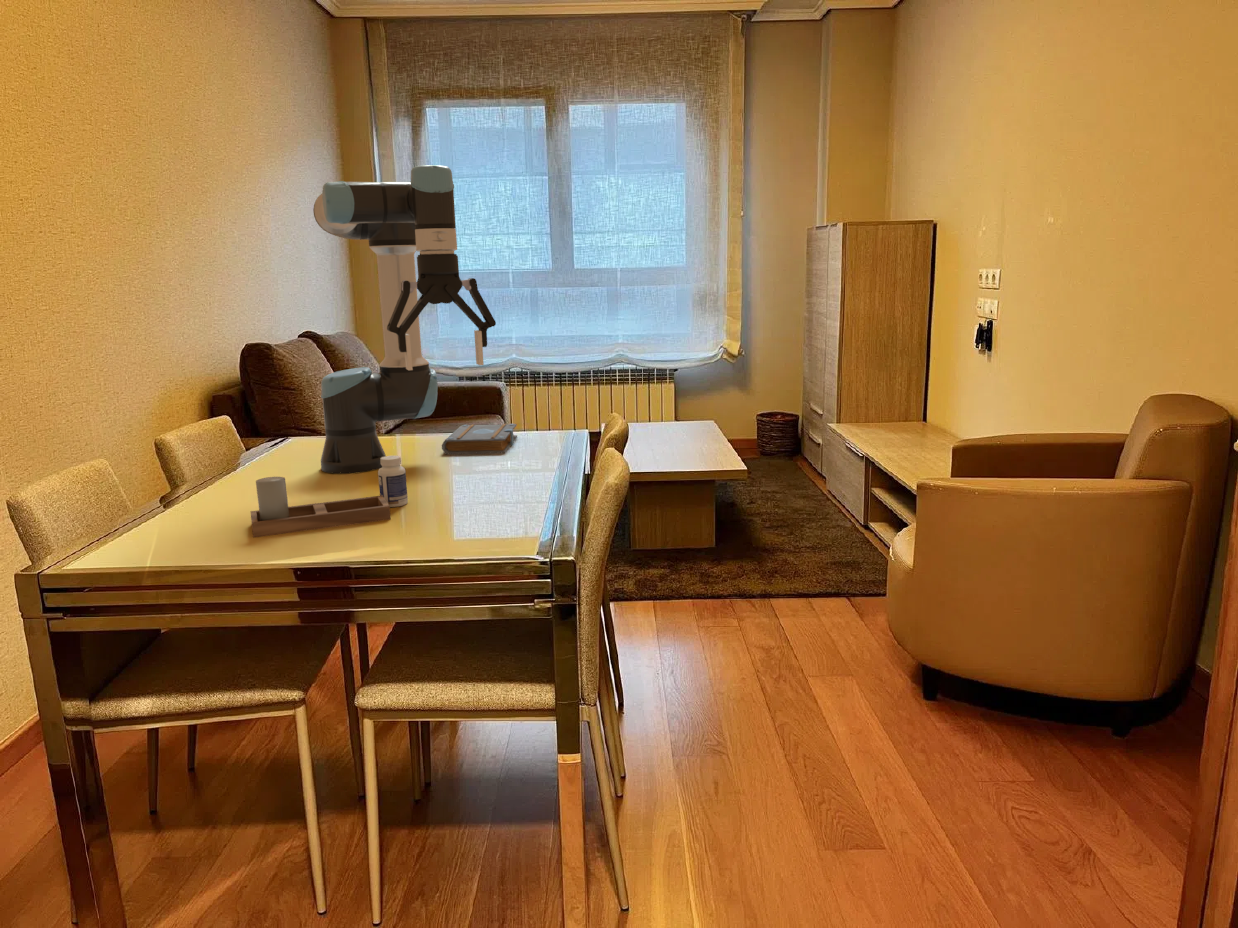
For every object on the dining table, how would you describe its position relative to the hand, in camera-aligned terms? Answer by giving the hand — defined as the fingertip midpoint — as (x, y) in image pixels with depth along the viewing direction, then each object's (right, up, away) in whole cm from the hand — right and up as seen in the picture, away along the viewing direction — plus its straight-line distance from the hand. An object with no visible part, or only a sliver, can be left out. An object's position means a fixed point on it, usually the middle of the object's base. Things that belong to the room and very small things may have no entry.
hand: (445, 367), depth 175 cm
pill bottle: (-12, -27, +11) cm, 31 cm away
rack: (-22, -30, -4) cm, 38 cm away
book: (-3, -14, +67) cm, 69 cm away
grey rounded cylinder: (-30, -30, -7) cm, 43 cm away
